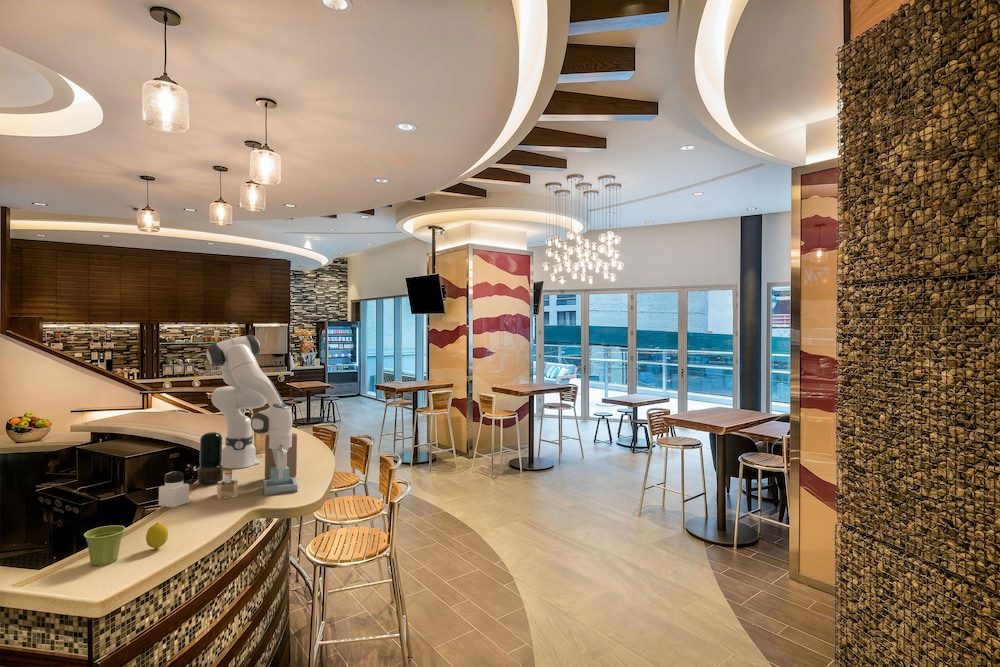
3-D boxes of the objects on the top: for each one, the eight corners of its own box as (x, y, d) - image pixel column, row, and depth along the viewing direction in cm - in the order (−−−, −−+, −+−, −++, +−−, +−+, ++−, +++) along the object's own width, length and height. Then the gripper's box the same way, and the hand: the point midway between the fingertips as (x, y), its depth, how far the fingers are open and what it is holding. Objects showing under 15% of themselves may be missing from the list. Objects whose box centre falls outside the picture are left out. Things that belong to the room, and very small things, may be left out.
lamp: (227, 482, 227) (228, 431, 227) (206, 487, 219) (207, 435, 219) (213, 478, 232) (214, 429, 232) (192, 484, 223) (193, 433, 223)
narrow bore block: (270, 479, 218) (270, 467, 218) (285, 477, 221) (285, 465, 222) (273, 482, 213) (274, 470, 213) (289, 480, 217) (289, 468, 217)
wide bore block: (218, 493, 210) (218, 481, 210) (237, 491, 213) (237, 479, 213) (217, 498, 204) (217, 486, 204) (237, 496, 207) (237, 484, 207)
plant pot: (120, 552, 154) (120, 522, 154) (128, 561, 147) (129, 530, 147) (79, 561, 147) (80, 531, 147) (87, 572, 140) (88, 540, 140)
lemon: (170, 549, 156) (170, 522, 156) (148, 554, 152) (149, 527, 152) (164, 544, 160) (165, 518, 160) (143, 549, 156) (143, 522, 156)
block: (263, 478, 233) (264, 434, 233) (282, 473, 242) (283, 431, 242) (278, 482, 228) (279, 436, 228) (297, 476, 237) (298, 433, 237)
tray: (263, 487, 220) (263, 480, 220) (294, 484, 226) (294, 477, 226) (264, 495, 209) (264, 488, 209) (297, 491, 215) (297, 484, 215)
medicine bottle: (189, 502, 199) (190, 471, 200) (173, 508, 193) (173, 475, 193) (174, 500, 201) (175, 469, 201) (158, 506, 195) (158, 474, 195)
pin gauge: (223, 494, 209) (224, 470, 209) (230, 493, 211) (231, 469, 211) (224, 496, 207) (225, 471, 207) (231, 495, 208) (232, 470, 208)
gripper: (290, 447, 210) (290, 481, 209) (286, 438, 228) (285, 469, 228) (273, 448, 207) (273, 483, 207) (270, 439, 225) (270, 471, 225)
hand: (279, 476), depth 217 cm, fingers closed on narrow bore block, 6 cm apart
